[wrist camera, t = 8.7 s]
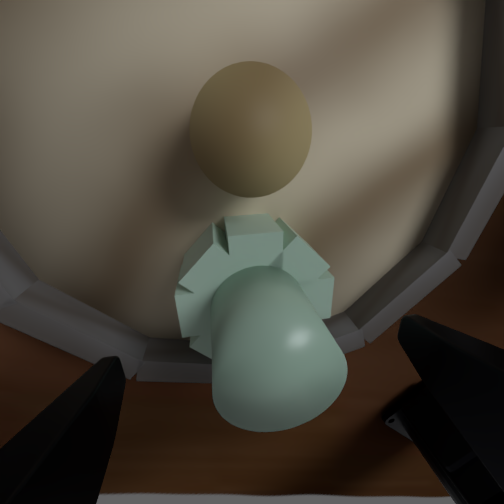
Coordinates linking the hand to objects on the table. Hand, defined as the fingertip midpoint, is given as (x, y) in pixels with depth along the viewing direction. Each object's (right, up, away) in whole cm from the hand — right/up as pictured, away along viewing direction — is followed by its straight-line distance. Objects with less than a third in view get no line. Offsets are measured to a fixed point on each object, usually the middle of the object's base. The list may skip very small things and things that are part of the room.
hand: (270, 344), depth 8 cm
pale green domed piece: (-1, +2, +4) cm, 4 cm away
